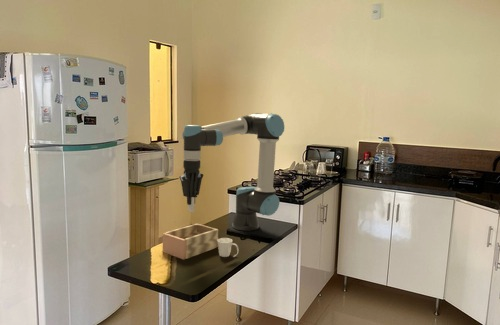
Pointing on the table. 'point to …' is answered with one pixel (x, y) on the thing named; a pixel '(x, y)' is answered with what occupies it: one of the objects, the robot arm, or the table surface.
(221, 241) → the cup
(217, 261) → the table surface
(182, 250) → the tailgate
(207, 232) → the box
